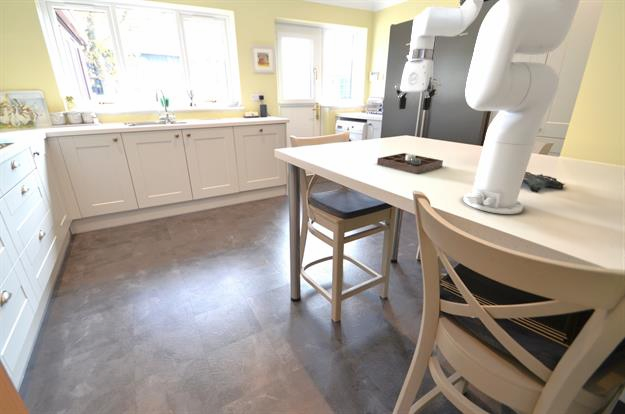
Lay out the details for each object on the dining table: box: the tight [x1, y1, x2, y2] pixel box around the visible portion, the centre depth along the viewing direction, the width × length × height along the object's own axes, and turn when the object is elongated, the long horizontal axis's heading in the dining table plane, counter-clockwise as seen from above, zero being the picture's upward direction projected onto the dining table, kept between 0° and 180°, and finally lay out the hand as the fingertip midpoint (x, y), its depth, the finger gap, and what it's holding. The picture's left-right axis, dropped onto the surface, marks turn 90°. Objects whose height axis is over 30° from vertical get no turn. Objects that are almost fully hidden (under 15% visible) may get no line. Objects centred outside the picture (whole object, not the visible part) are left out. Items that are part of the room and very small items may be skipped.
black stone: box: [410, 158, 421, 166], centre depth 99 cm, size 4×4×4 cm
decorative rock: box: [522, 171, 565, 193], centre depth 87 cm, size 19×6×15 cm
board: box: [376, 152, 444, 175], centre depth 107 cm, size 17×17×2 cm
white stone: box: [405, 153, 416, 161], centre depth 106 cm, size 4×4×4 cm
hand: (413, 109), depth 103 cm, fingers open, 9 cm apart
